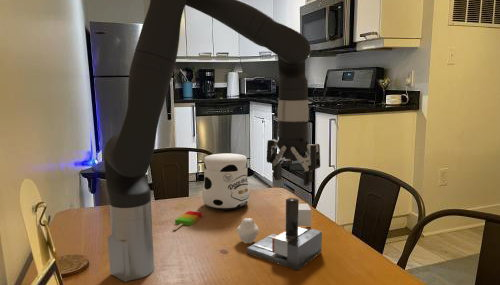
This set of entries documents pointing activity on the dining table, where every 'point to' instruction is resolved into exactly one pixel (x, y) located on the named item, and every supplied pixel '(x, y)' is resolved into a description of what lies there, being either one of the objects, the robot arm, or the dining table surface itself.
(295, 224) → the sliding jaw
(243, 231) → the white rounded ridged piece
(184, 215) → the popsicle
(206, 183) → the milk container
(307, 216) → the white cube
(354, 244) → the dining table surface
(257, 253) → the jaw track
